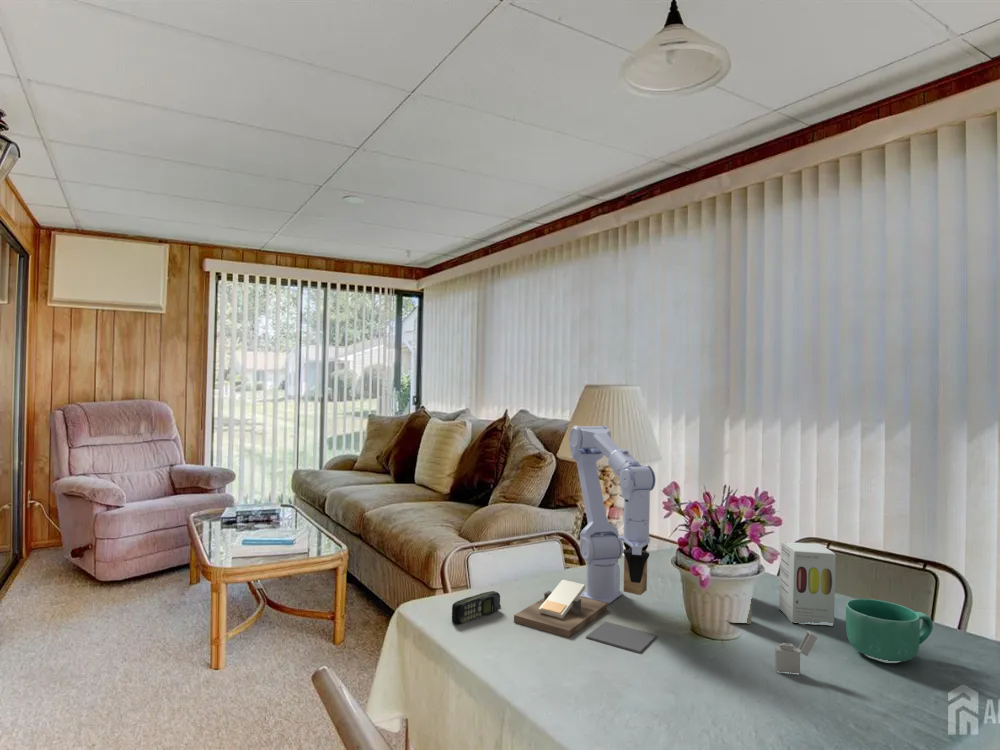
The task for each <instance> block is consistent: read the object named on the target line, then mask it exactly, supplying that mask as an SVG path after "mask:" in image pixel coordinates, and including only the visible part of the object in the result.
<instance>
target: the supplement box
mask: <svg viewBox="0 0 1000 750" xmlns="http://www.w3.org/2000/svg"><path fill="white" fill-rule="evenodd" d="M836 556H837V555H836V553H834V551H832V550H830V549H829V548H827V547H825V546H824V545H822V544H821V543H808V542H791V541H781V542H780V566H779V568H780V569H779V570H780V574H779V601H778V602H779V605H778V607H779V608H778V609H779V611H780V610H781V611H782V612H783V613H784V614H785V615H786V616H787V617H788V618H787V617H786V616H785V615H784V614H783V613H782V612H781V611H780V612H781V613H782V614H783V615H784V616H785V617H786V618H787V619H788V620H789V622H790V623H792V622H794V623H795V622H796V623H806V622H807V623H808V622H810V623H812V622H813V623H820V622H828V623H834V624H835V600H836V599H835V598H836V597H835V593H836V563H837V561H836V560H837V559H836V558H837V557H836Z"/></svg>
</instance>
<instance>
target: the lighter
mask: <svg viewBox="0 0 1000 750" xmlns="http://www.w3.org/2000/svg"><path fill="white" fill-rule="evenodd" d="M817 639H818V636H817V635H816V634H815V633H813V632H812V631H810V630H807V632H806V634H805V635H804V637H803V638H802V640H801V642H800V644H799V646H798V648H794V644H793V643H785V642H782V643H780V644H779V646H774V670H775V669H776V671H779V672H789V673H790V672H791V673H800V674H801V654H802V655H804V656H806V657H808V656H809V654H810V652H811V651H812V649H813V647H814V645H815V644H816V642H817ZM776 671H775V672H776Z"/></svg>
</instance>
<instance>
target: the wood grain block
mask: <svg viewBox="0 0 1000 750" xmlns="http://www.w3.org/2000/svg"><path fill="white" fill-rule="evenodd" d="M629 550H632V547H630V549H629ZM642 552H648V550H646V551H644V550H642ZM623 556H624V557H623V558H624V559H623V593H629V594H634V595H638V596H641V595H643V594H644V593H646V592H647V591H648V588H647V587H648V560H647V561H646V563H645V566H644V569H643V575H642V579H641V582H640V583H635V582H631V580H630V574H629V567H628V563H627V560H626V557H625V555H623Z"/></svg>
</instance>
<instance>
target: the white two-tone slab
mask: <svg viewBox="0 0 1000 750" xmlns="http://www.w3.org/2000/svg"><path fill="white" fill-rule="evenodd" d="M585 589H586V584H583V583H579V582H576V581H572V580H571V581H570V580H566V579H561V581H560V582H559V583H558V584H557V585H556V587H555V588H554V589H553V590H552V591H551V592H552V593H551V594H550V595H549V597H548V598H547V599H546V600H545V601H544V603H543V604H542V605H541V606H540V608H539V612H540V613H543V614H547V615H551V616H555V617H558V618H562V619H563V617H564V616H565V615H566V613H567V612H568V611H569V609H570V608H571V607H572V605H573V600H575V599H576V598H578V597H579V596H580V595H581V594H583V593H584V592H585Z"/></svg>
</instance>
